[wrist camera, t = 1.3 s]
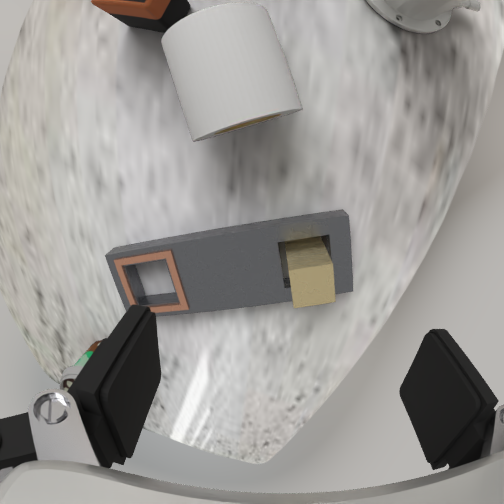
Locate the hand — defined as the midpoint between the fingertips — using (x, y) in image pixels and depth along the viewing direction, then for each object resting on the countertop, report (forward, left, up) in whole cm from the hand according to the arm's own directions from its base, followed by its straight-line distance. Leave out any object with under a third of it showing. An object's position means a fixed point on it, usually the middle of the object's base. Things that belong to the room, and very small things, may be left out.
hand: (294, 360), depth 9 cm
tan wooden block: (-2, +7, -25) cm, 26 cm away
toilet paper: (+2, -13, -25) cm, 28 cm away
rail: (+7, +7, -25) cm, 27 cm away
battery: (+9, -24, -25) cm, 36 cm away
